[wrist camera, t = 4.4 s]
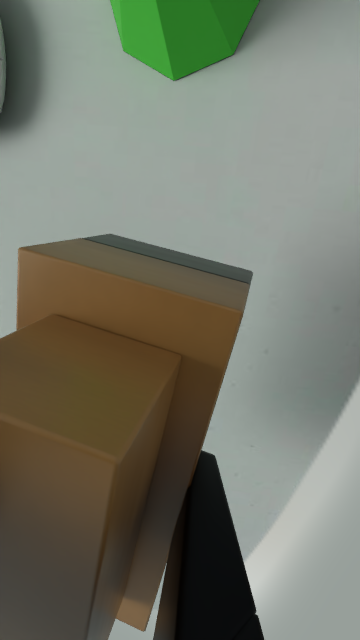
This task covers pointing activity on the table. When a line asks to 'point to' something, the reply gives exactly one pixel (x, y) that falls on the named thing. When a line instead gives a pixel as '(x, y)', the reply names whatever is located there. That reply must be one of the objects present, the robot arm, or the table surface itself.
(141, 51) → the gemstone
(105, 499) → the brush
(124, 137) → the table surface
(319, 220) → the table surface
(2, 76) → the computer mouse
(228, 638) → the robot arm
